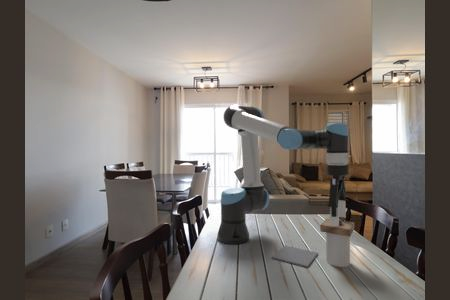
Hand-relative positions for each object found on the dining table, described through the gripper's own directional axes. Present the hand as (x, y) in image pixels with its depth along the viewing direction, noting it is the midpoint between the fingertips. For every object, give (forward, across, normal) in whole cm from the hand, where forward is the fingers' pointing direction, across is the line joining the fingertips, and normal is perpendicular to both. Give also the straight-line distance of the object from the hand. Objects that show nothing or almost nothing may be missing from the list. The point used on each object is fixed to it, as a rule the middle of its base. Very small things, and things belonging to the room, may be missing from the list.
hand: (338, 221), depth 95 cm
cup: (+16, 0, 0) cm, 16 cm away
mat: (+15, -4, +16) cm, 22 cm away
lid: (+4, 0, 0) cm, 4 cm away
